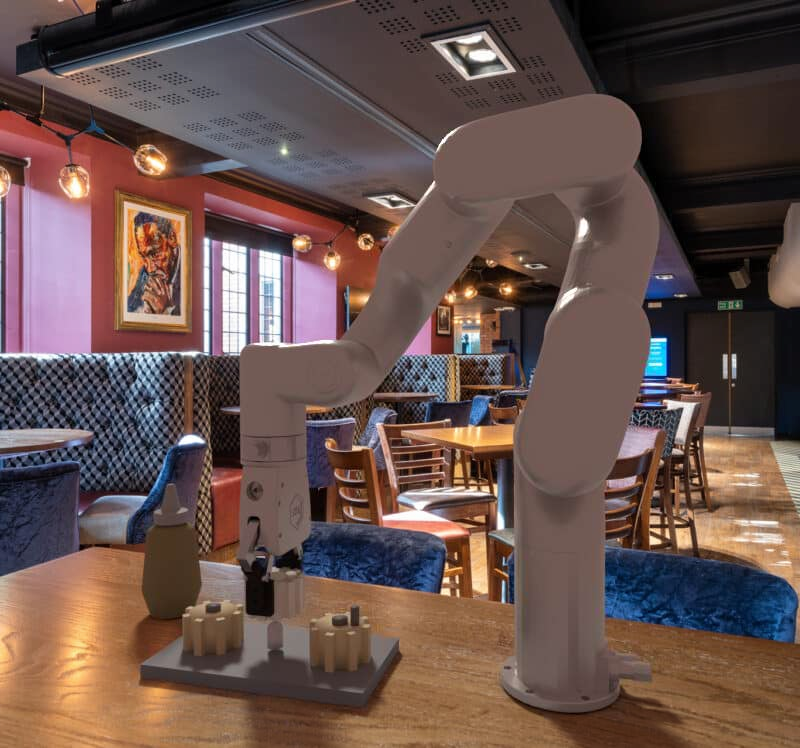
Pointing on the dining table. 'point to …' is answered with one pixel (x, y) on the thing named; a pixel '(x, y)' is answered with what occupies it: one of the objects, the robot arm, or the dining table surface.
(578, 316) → the robot arm
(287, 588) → the cream idler gear
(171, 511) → the squeeze bottle
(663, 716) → the dining table surface
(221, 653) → the gear board
